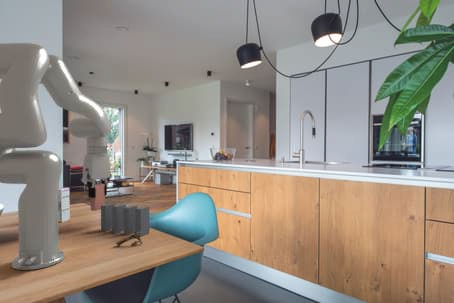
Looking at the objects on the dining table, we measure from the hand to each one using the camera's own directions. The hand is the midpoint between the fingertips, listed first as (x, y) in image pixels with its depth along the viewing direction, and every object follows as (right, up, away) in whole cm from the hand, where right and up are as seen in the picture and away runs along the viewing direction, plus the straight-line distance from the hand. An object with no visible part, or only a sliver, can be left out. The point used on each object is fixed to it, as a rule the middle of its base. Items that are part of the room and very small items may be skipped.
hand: (97, 195), depth 116 cm
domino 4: (+15, -13, -6) cm, 21 cm away
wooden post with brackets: (+19, -14, -20) cm, 31 cm away
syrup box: (-22, -13, +12) cm, 28 cm away
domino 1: (0, -5, 0) cm, 5 cm away
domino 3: (+10, -13, -4) cm, 17 cm away
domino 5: (+20, -13, -8) cm, 26 cm away
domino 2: (+5, -13, -2) cm, 14 cm away
